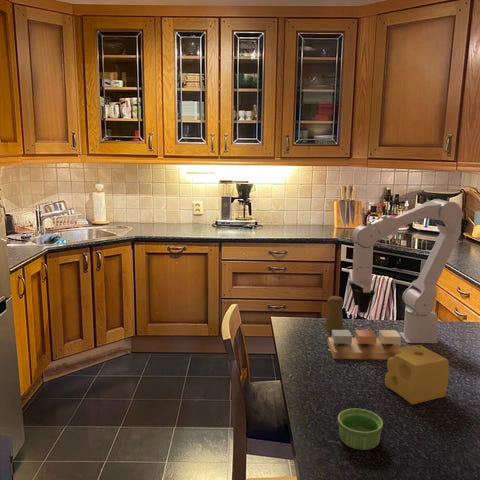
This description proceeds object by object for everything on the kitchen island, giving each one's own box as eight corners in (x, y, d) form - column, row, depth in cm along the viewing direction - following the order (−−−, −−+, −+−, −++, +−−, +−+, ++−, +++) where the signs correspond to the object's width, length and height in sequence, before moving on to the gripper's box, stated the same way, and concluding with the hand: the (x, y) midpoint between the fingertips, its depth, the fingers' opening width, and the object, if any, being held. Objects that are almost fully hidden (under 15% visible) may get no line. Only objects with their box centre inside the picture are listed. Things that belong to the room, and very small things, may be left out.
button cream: (395, 337, 144) (396, 330, 143) (400, 343, 139) (401, 336, 138) (378, 337, 144) (379, 330, 144) (383, 343, 139) (383, 336, 139)
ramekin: (330, 442, 98) (330, 423, 97) (346, 422, 106) (347, 403, 105) (373, 458, 93) (374, 437, 92) (387, 435, 101) (388, 416, 100)
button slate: (348, 336, 144) (348, 329, 144) (351, 343, 139) (352, 336, 139) (331, 336, 144) (331, 329, 144) (334, 343, 139) (334, 336, 139)
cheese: (384, 386, 121) (386, 348, 120) (418, 379, 125) (421, 342, 123) (412, 406, 112) (415, 366, 110) (448, 398, 116) (452, 358, 114)
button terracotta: (372, 337, 144) (372, 330, 144) (376, 343, 139) (376, 336, 139) (355, 336, 144) (355, 330, 144) (358, 343, 139) (359, 336, 139)
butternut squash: (330, 324, 164) (331, 293, 162) (347, 328, 161) (348, 296, 158) (321, 329, 160) (322, 297, 158) (338, 333, 156) (339, 300, 154)
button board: (393, 344, 147) (394, 333, 147) (404, 359, 137) (405, 348, 136) (328, 343, 148) (328, 333, 147) (333, 358, 137) (334, 347, 137)
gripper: (344, 260, 153) (343, 301, 155) (354, 271, 139) (352, 316, 141) (367, 260, 153) (365, 301, 155) (378, 271, 138) (376, 316, 141)
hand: (360, 308), depth 148 cm, fingers open, 6 cm apart
